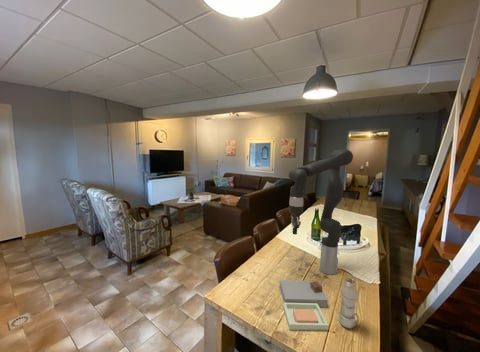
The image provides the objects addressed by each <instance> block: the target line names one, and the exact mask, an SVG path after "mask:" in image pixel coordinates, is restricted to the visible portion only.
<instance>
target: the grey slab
mask: <svg viewBox="0 0 480 352" xmlns="http://www.w3.org/2000/svg"><path fill="white" fill-rule="evenodd" d="M315 281H316V280H298V279H297V280H296V279H295V280H292V279H288V280H287V279H286V280H285V279H280V280H279V291H280V294H281V297H282V300H283V302H284V303H317V304H318V306H319V308H328V302H329V301H328V297H327V296H326V294H325V292H324V291H323V290H322V292H317V293H314V291H313V290H312V289H311V288H310V282H315Z"/></svg>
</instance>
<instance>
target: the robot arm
mask: <svg viewBox="0 0 480 352" xmlns="http://www.w3.org/2000/svg"><path fill="white" fill-rule="evenodd" d="M353 160H354V154H353V152H352V151H351V150H349V149H335V150H332V151H331V153H330V156H329V158H325V159H319V160H316V161H313V162H311V163H309V164H305V165H302V166H301V165H300V166H298V167H294V168H292V169H291V170H290V171H289V172H288V177H289V179H290V180H291V181H293V182H294V185H292V186H291V187H290V189H289V190H290V194H289V204H288V205H289V206H288V212H289V213H290V214H291V215H290V221H291V222H290V223H291V227H292V235H297V234H298V229H299V228H300V226H301V225H302V224H301V223H302V222H301V221H300V220H301V217H300V215H302V214H304V191H305V188H306V187H305V186H306V184H307V180H308V177H313V176H316V175H318V174H321V173H323V172H325V171H328V170H329V171H328V179H327V186H326V191H325V199H324V204H323V208H322V209H323V210H322V213H321V216H320V220H319V227H320V229H321V231H323V232H324V233H327V236H324V237H322V238H321V246H320V257H319V271H320V272H322V273H324V274H327V275H335V274H338V267H339V258H338V250H339V248H338V247H339V242H340V241H341V239H340V238H341V231H342V225H341V222H340V221H339V220H336V219H335V218H332V217H333V213H334V210H335V209H336V207H337V206H338V205H339V204H340V203H341V202H342V200H343V195H344V192H345V191H344V189H345V188H344V183H343V180H342V178H341V172H340V170H341V167H342V166H343V167H344V166H347V165H350V164H351V163H352V162H353Z"/></svg>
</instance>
